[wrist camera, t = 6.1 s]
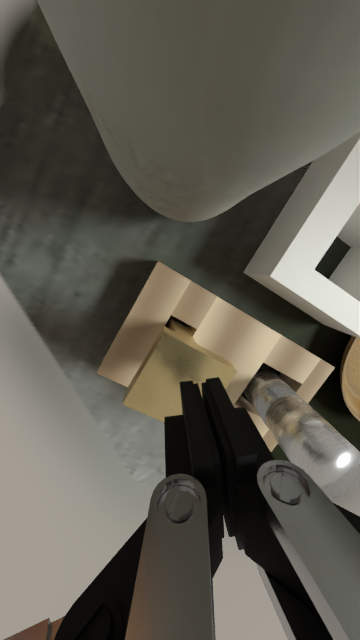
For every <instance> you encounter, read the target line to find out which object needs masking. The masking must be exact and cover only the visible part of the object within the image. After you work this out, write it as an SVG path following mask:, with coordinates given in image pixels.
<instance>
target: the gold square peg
mask: <svg viewBox="0 0 360 640" xmlns="http://www.w3.org/2000/svg"><path fill="white" fill-rule="evenodd" d="M236 373H237V370H236V368H235V367H234V366H233V364H232V363H231V362H230V361H228V360H226V359H225V358H223V357H221V356H219V355H217V354H215V353H213V352H211V351H210V350H208V349H206V348H204V347H202V346H200V345H198V344H196V342H195V340H194V338H193V336H192V334H191V332H190V330H189V328H188V326H187V324H186V323H185V322H183V321H181V320H179V319H178V318H176V317H174V316H172V315H171V316H170V317H169V319H168V321H167V322H166V324H165V326H163V328H162V330H161V332H160V333H159V335H158V337H157V338H156V340H155V342H154V343H153V345H152V347H151V349H150V350H149V352H148V354H147V355H146V357H145V359H144V360H143V362H142V364H141V365H140V367H139V369H138V371H137V372H136V374H135V376H134V377H133V379H132V381H131V382H130V384H129V386H128V388H127V389H126V391H125V394H124V399H123V403H122V405H125V406H127V407H129V408H132V409H134V410H136V411H139V412H141V413H143V414H146V415H148V416H150V417H153V418H155V419H157V420H160V421H162V422H164V417H167V416H175V415H183V414H182V403H181V393H180V382H183V381H191V380H192V381H193V384H195V383H198V385H199V389H200V392H201V395H202V386H201V384H202V383H204V382H206V379H208V378H216V377H219V378H220V380H221V382H222V384H223V386H224V388H225V389H226V388H227V386H228V385H229V383H230V382H231V380H232V379H233V377H234V376H235V374H236Z"/></svg>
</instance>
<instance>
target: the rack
mask: <svg viewBox="0 0 360 640" xmlns="http://www.w3.org/2000/svg"><path fill="white" fill-rule="evenodd" d="M336 237H338V238H339V239H341V240H342V241H343V242H345V243H346V244H347V245H348V246H350V247H351V248H350V249H349V251H348V252H347V254H346V255H345V256H344V258H343V259H342V261H341V262H340V264H339V265H338V266H337V268H336V269H335V271H334V272H333V274H332V275H331V276H330V278H329V279H327V278H326V277H324V276H323V275H321V274H320V273H319V272H317V271H316V270H314V269H315V268H316V266H317V265H318V263H319V262H320V260H321V259H322V257H323V256H324V254H325V253H326V251H327V250H328V249H329V247H330V246H331V244H332V243H333V241H334V240H335V238H336ZM243 273H245V274H246V275H248V276H249V277H251V278H252V279H254V280H256V281H257V282H259V283H260V284H262V285H263V286H265V287H266V288H268V289H269V290H271V291H272V292H274V293H276V294H277V295H279V296H280V297H282V298H283V299H285V300H286V301H288V302H289V303H291V304H293V305H294V306H296V307H297V308H299V309H300V310H302V311H303V312H305V313H306V314H308V315H310V316H311V317H313V318H314V319H316V320H317V321H319V322H320V323H322V324H323V325H326V326H328V327H331V328H334V329H336V330H339V331H341V332H344V333H347V334H349V335H352V336H355V337H357V338H360V131H359V132H358V133H357V134H355V135H354V136H352V137H351V138H349V139H348V140H346V141H344V142H343V143H341V144H340V145H338V146H337V147H335V148H333V149H332V150H330V151H329V152H327V153H325V154H324V155H322V156H321V157H319V158H317V159H315V160H313V162H312V163H311V165H310V167H309V168H308V170H307V171H306V173H305V175H304V176H303V178H302V179H301V181H300V182H299V184H298V186H297V187H296V189H295V190H294V192H293V194H292V195H291V197H290V198H289V200H288V202H287V203H286V205H285V206H284V208H283V210H282V211H281V213H280V214H279V216H278V218H277V219H276V221H275V222H274V224H273V226H272V227H271V229H270V230H269V232H268V233H267V235H266V237H265V238H264V240H263V241H262V243H261V245H260V246H259V248H258V249H257V251H256V253H255V254H254V256H253V257H252V259H251V261H250V262H249V264H248V265H247V267H246V269H245V270H244V272H243Z"/></svg>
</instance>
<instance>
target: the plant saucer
mask: <svg viewBox="0 0 360 640" xmlns="http://www.w3.org/2000/svg"><path fill="white" fill-rule="evenodd" d="M340 383H341V389H342V394H343V398H344V401H345V403H346V405H347V407H348V409H349V410H350V412H351V413H352V415H353V416H354V417H356V418H357V419H358V420H359V421H360V338H357V337H355V336H352V337H351V339H350V340H349V342H348V344H347V346H346V349H345V351H344V354H343V357H342V362H341V369H340Z"/></svg>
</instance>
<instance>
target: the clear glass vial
mask: <svg viewBox="0 0 360 640" xmlns="http://www.w3.org/2000/svg"><path fill="white" fill-rule="evenodd" d="M243 392H244V394H245V395H246V397H247V398H248V400H249V401H250V402H251V404H252V405H253V407H254V408H255V410H256V411H257V413H258V414H259V416H260V417H261V419H262V420H263V422H264V423H265V425H266V426H267V428H268V429H269V431H270V432H271V434H272V435H273V436H274V438H275V439H276V441H277V442H278V444H279V445H280V447H281V448H282V450H283V451H284V453H285V454H286V456H287V457H288V459H289V460H290V462H291V463H292V464H295V465H296V466H298V467H300V468H301V469H303V470H304V471H305V472H306V473H307V474H308V475H309V476H310V477H311V478H312V479H313V481H314V482H315V483H316V484H317V485H318V486H319V488H320V489H321V490H322V491H323V492H324V493H325V495H326V496H327V497H328V498H334V497H338V496H341V495H343V494H346V493H347V492H349V491H350V490H352V489H353V488H354V487H355V486H356V485H357V484H358V483H359V482H360V452H359V451H358V450H357V449H356V448H355V447H354V446H353V445H352V444H351V443H350V442H348V441H347V440H346V439H345V438H344V437H343V436H342V435H341V434H340V433H339V432H338V431H337V430H336V429H335V428H333V427H332V426H331V425H330V424H329V423H328V422H327V421H326V420H325V419H324V418H323V417H322V416H321V415H320V414H318V413H317V412H316V411H315V410H314V409H313V408H312V407H311V406H310V405H309V404H308V403H307V402H306V401H305V400H303V399H302V398H301V397H300V396H299V395H298V394H297V393H296V392H295V391H294V390H293V389H292V388H291V387H290V386H288V385H287V384H286V383H285V382H284V381H283V380H282V379H281V378H280V377H279V376H278V375H277V374H276V373H275V372H273V371H272V370H271V369H270V368H269V367H268V366H267V365H266V364H264V363H262V365H261V366H260V368H259V369H258V371H257V372H256V374H255V375H254V376H253V378H252V379H251V381H250V382H249V384H248V385H247V387H246V388H245V389H244V391H243Z"/></svg>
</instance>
